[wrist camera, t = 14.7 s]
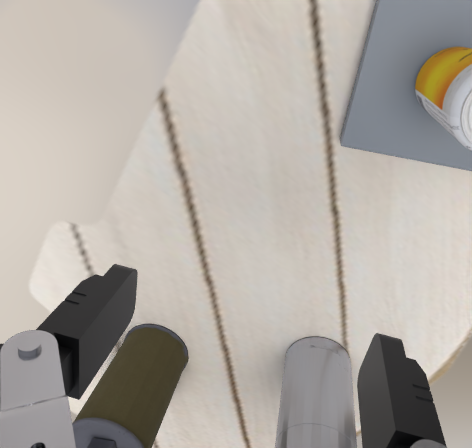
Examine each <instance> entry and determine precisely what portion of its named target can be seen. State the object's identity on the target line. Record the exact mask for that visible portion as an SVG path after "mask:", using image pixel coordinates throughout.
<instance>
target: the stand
mask: <svg viewBox="0 0 472 448" xmlns="http://www.w3.org/2000/svg"><path fill="white" fill-rule="evenodd" d="M451 47H466V48H472V0H377V1H376V4H375V8H374V12H373V16H372V20H371V23H370V27H369V31H368V35H367V39H366V42H365V46H364V50H363V54H362V57H361V61H360V65H359V69H358V73H357V76H356V80H355V84H354V88H353V92H352V95H351V99H350V103H349V107H348V110H347V114H346V118H345V122H344V126H343V129H342V133H341V137H340V142H341V146H344V147H349V148H354V149H360V150H365V151H370V152H375V153H380V154H386V155H391V156H396V157H401V158H406V159H412V160H417V161H422V162H427V163H432V164H437V165H443V166H448V167H453V168H458V169H463V170H469V171H472V151H471V150H469V149H467V148H466V147H465V146H463V145H462V144H461V143H460V142H459V141H458V140H457V139H456V138H455V137H453V136H452V135H451V134H450V133H449V132H448V131H447V130H446V129H445V128H444V127H443V126H442V125H441V124H440V123H439V122H437V121H436V120H435V119H434V118H433V117H432V116H431V115H430V114H429V113H428V112H427V111H426V110H425V109H424V108H423V107H422V106H421V105H420V103H419V102H418V99H417V97H416V92H415V84H416V79H417V76H418V73H419V71H420V69H421V68H422V66H423V65H424V64H425V62H426V61H427V60H428V59H429V58H430V57H432V56H433V55H434V54H436V53H437V52H439V51H441V50H444V49H447V48H451Z"/></svg>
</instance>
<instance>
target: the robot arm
mask: <svg viewBox="0 0 472 448" xmlns="http://www.w3.org/2000/svg"><path fill="white" fill-rule="evenodd" d="M136 288H137V270H136V269H132V268H128V267H124V266H121V265H117V264H114V265H113V266H112V267H111V268H110V269H109V270H108V271H107V273H106V274H105V275H104V276H99V275H94V276H92V277H90V278H88V279H86V280H84V281H82V282H81V283H80V284H79V285H78V286H77V287H76V288H75V289H74V290H73V291H72V293H70V294H69V295H68V296H67V297H66V298H65V301H63V302H62V303H61V304H60V305H59V306H58V307H57V308H56V309H55V310H54V311H53V312H52V313H51V314H50V315H49V317H47V319H46V320H45V321H44V322H43V323H42V324H41V325H40V326H39V327H38V328H37V329H36V330H30V331H25V332H21V333H18V334H16V335H14V336H12V337H11V338H10V339H8V340H7V341H6V342H5V344H0V448H76V445H75V439H74V432H73V426H72V420H71V413H70V407H69V401H68V396H69V397H72V398H75V399H80V398H81V396H82V395H83V393H84V392H85V390H86V389H87V387H88V386H89V384H90V383H91V381H92V380H93V378H94V377H95V375H96V374H97V372H98V370H99V369H100V367H101V366H102V364H103V363H104V361H105V360H106V358H107V357H108V355H109V354H110V352H111V351H112V349H113V348H114V346H115V345H116V343H117V342H118V340H119V338H120V337H121V335H122V334H123V332H124V331H125V329H126V328H127V326H128V325H129V323H130V321H131V319H132V316H133V313H134V309H135V301H136ZM357 388H358V400H359V411H360V422H361V434H362V445H363V448H447V447H446V444H445V440H444V436H443V433H442V430H441V426H440V422H439V419H438V415H437V412H436V408H435V405H434V403H433V398H432V395H431V392H430V391H429V390H430V387H429V384H428V380H427V377H426V374H425V373H424V371H423V370H422V368H421V367H420V366H419V364H418V363H417V362H416V360H413V359H410V358H406V355H405V351H404V347H403V343H402V340H401V339H398V338H394V337H390V336H386V335H382V334H378V333H376V334H375V335H374V337H373V339H372V342H371V344H370V346H369V349H368V351H367V353H366V356H365V358H364V360H363V363H362V365H361V368H360V371H359V375H358V383H357ZM275 448H357V444H356V429H355V415H354V401H353V387H352V372H351V361H350V357H349V355H348V353H347V352H346V350H345V349H344V348H343V347H342V346H340V345H339V344H338V343H336V342H334V341H332V340H329V339H326V338H320V337H309V338H304V339H301V340H299V341H297V342H295V343H294V344H293V345H292V346H291V347H290V348H289V349H288V351H287V354H286V358H285V366H284V375H283V382H282V391H281V400H280V408H279V417H278V426H277V435H276V443H275Z"/></svg>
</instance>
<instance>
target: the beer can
mask: <svg viewBox="0 0 472 448" xmlns="http://www.w3.org/2000/svg"><path fill="white" fill-rule="evenodd" d="M415 92H416V97H417V99H418V102H419V103H420V105H421V106H422V107H423V108H424V109H425V110H426V111H427V112H428V113H429V114H430V115H431V116H432V117H433V118H434V119H435V120H436V121H437V122H439V123H440V124H441V125H442V126H443V127H444V128H445V129H446V130H447V131H448V132H449V133H450V134H451V135H452V136H453V137H455V138H456V139H457V140H458V141H459V142H460V143H461V144H462V145H463V146H465V147H466V148H467V149H469V150H471V151H472V48H466V47H451V48H447V49H444V50H441V51H439V52H437V53H436V54H434V55H433V56H432V57H430V58H429V59H428V60H427V61H426V62H425V64H424V65H423V66H422V68H421V69H420V71H419V73H418V76H417V79H416V84H415Z"/></svg>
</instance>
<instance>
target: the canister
mask: <svg viewBox="0 0 472 448" xmlns="http://www.w3.org/2000/svg"><path fill="white" fill-rule="evenodd" d="M187 362H188V353H187V348H186V346H185V344H184V342H183V341H182V340H181V339H180V338H179V337H178V336H177V335H176V334H175V333H173V332H172V331H170V330H168V329H167V328H164V327H162V326H158V325H154V324H144V325H139V326H136V327H134V328H133V329H131V330H130V331H129V332H128V334H127V335H126V337H125V340H124V343H123V344H122V346H121V347H120V349H119V351H118V352H117V354H116V355H115V357H114V359H113V360H112V362H111V363H110V365H109V367H108V368H107V370H106V371H105V373H104V375H103V376H102V378H101V379H100V381H99V382H98V384H97V386H96V387H95V389H94V390H93V392H92V394H91V395H90V397H89V398H88V400H87V402H86V403H85V405H84V406H83V408H82V410H81V411H80V413H79V414H78V416H77V417H76V419H75V421H74V422H73V423H72V426H73V432H74V439H75V445H76V448H152V445H153V443H154V440H155V438H156V435H157V433H158V430H159V428H160V425H161V423H162V420H163V418H164V415H165V413H166V410H167V408H168V406H169V403H170V401H171V398H172V396H173V393H174V391H175V388H176V386H177V383H178V381H179V378H180V376H181V373H182V371H183V369H184V368H185V367H186V365H187Z"/></svg>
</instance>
